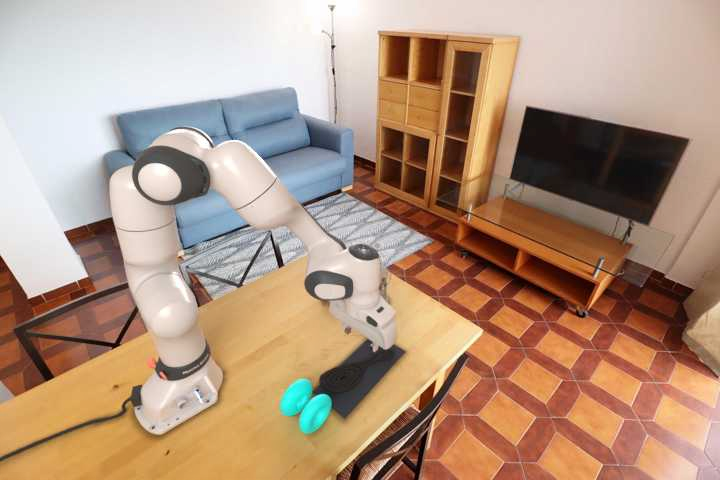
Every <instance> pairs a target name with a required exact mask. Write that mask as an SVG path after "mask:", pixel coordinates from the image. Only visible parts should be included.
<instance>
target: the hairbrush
mask: <svg viewBox="0 0 720 480" xmlns="http://www.w3.org/2000/svg"><path fill="white" fill-rule="evenodd" d="M394 355H395V352H394V350H389V349H386V350H382V351H380V352H378V353H376V354H375V355H373V356H371V357H369V358H368V359H366V360H364V361H361V362H357V363H354V362H352V364H345V365H342V366H341V364H339V365H338V366H335V367H333V368H331V369H328V370H326V371H324V372H323V373H321V374H320V376H319V380H318V383H319V385H321V387H322V388H323V389H324V390H326V391H328V392H330V393H340V394H342V393H344V392H347V391H349V390H351V389H353V388H355V387H356V385H357V384H358V383H359V382H360V381H361V379H362V377H363V375H364V373H365V371H366V369H367V368H368V366H370V365H372V364H374V363H377V362H380V361H385V360H389V359H391V358H393V357H394ZM360 369H361V374H360ZM355 374H356V376H355ZM349 376H350V377H349ZM359 376H360V377H359ZM344 377H346V378H345V379H342V378H344ZM341 379H342V380H341Z"/></svg>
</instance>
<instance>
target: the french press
mask: <svg viewBox="0 0 720 480" xmlns="http://www.w3.org/2000/svg"><path fill="white" fill-rule="evenodd" d="M373 248H374V249H379V248H381V244H380V243H379V242H375V243H374V247H373ZM388 275H389V276H390V277H389V279H388ZM387 279H388V282H387ZM391 279H392V272H391V270H389V269H388V268H387V267H386V266H385V265H384V264H381V282H380V285H379V290H380V295H381V296H382V297H383V299H384V300H385V301H386V302H387V303H388V304H389V298H388V297H387V288H388V287H387V286H388V284H389V283H390V281H391Z"/></svg>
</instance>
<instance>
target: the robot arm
mask: <svg viewBox="0 0 720 480" xmlns="http://www.w3.org/2000/svg"><path fill="white" fill-rule="evenodd" d="M211 190H212V191H214V192H216V193H218V194H219V195H220V196H221V197H222V198H223V199H224V200H225V201H226V202H227V203H228V205H230V206H231V208H232V209H233V210H234V211H235V212H236V213H237V215H239V217H240V218H241V219H242V220H243V221H244V222H245V223H247V225H249V226H250V227H252V228H253V229H256V230H260V231H270V230H275V229H277V228H279V227H281V226H283V227H286V228H287V229H288V230H289V231H290V232H291V233H292V234H293V235H294V236H295V238H297V239H298V240H299V241H300V242H301V243H302V245H304V246H305V248H306V252H307V259H308V260H307V264H306V268H305V275H304V282H303V285H304V289H305V291H306V292H307V294H309V296H310V297H312V298H314V300H315V299H316V300H317V301H322V302H324V301H330V303H329V308H328V310H329V314H330V315H331V316H333V317H334V318H335V319H336V320H338V321H339V322H340V325H341V327H342V328H343V329H342V330H343V333H345V334H346V335H349V334H350V333H352V330H354V331H355V332H357V333H358V334H360V335H362V336H363V337H365V338H366V339H369V340H371V341H372V342H373V344H371V345H370V350H372V351H373V352H376V351H377V350H378V346H380V347H381V348H383V349H385V350H386V349H389V348H390V347H391V346H392V345H393V344H394V345H395V343H396V341H397V322H396V320H395V318H396V315H397V311H396V309H395V308H394V307H393V306H392V305H391V304H389V302H388V303H387V302H386V301H385V300H384V299H383V297H382V296H381V295H380V290H379V285H380V282H381V265H382V261H381V256H380V254H379V252H378V250H377V248H375V247H373V246H372V245H370V244H368V243H363V242H354V243H351V244H349V246H348V247H347V246H346V244H345V243H344V242H343V240H341V239H340V238H338V237H337V236H335V235H333V234H331V232H329V231H327V230H326V229H325V228H324V227H323V226H322V225H321V224H320V222H319V221H317V219H316V218H315V217H314V216H313V215H312V214H311V213H310V212H309V210H308V209H307V208H306V207H305V206H304V205H303V204H302V203H301V202H300V201H299V200H298V199H297V198H296V197H295V196H294V195H293V194H292V193H291V192H290V190H288V188H287V187H286V186H285V184H284V183H283V182H282V181H281V179H280V178H279V177H278V175H277V174H276V173H275V172H274V171H273V169H272V168H271V167H270V166H269V164H267V162H265V160H264V159H263V157H261V156H260V155H259V154H258V153H257V152H256V151H255V150H254V149H252V148H251V147H250V146H249V145H248V144H246V143H245V142H243V141H241V140H238V139H237V140H236V139H233V140H227V141H224V142H221V143H220V144H218V145H217V146H215V143H214V142H213V140H212V139H211V137H210V136H209V134H207V133H205V131H203V130H201V129H199V128H197V127H194V126H185V125H183V126H177V127H175V128H174V127H173V128H172V129H170V130H168V132H165V133H163V134H161V135H160V136H158V137H157V138H155V139H154V140H153V141H152V142H151V144H149V146H148V147H147V148H145V149H144V150H142V151H141V152H140V153H139V154H138V156H137V157H136V159H135V161H134V162H133V164H131V165H127V166H124V167H121V168H119V169H118V170H116V171H115V172H114V173H112V175H111V176H110V179H109V202H110V211H111V216H112V221H113V224H114V228H115V231H116V235H117V239H118V243H119V247H120V250H121V254H122V258H123V265H124V271H125V275H126V276H125V277H126V281H127V284H128V290H129V291H130V294H131V296H132V299H133V300H134V303H135V306H136V307H137V310H138V312H139V314H140V316H141V320H142V321H143V324H144V325H145V328H146V330H147V332H148V334H149V337H150V339H151V341H152V343H153V345H154V348H155V351H156V353H157V354H158V358H157V359H158V360H156V359H155V358H154V357H150V358H149V359H148V360H146V366H148V367H149V369H151V370H152V369H154V371H153V372H152V374H151V375H150V376H149V377H148V379H147V380H146V381H145V382H144V384H138V385H134V386H132V388H131V393H130V396H129V397H128V398H126V399H125V400H124V401H123V402H122V404H121V411H120V412H119V413H117V414H114V415H111V416H107V417H102V418H95V419H92V420H88V421H86V422H85V421H84V422H83V423H80V424H77V425H74V426H71V427H69V428H67V429H65V430H62V431H59V432H56V433H54V434H52V435H49V436H47V437H44V438H42V439H39V440H37V441H34V442H32V443H30V444H27V445H25V446H22V447H21V448H18V449H16V450H14V451H11V452H9V453H7V454H5V455H2V456H0V462H2V461H4V460H7V459H9V458H11V457H13V456H15V455H18V454H20V453H23V452H24V451H27V450H29V449H31V448H33V447H36V446H38V445H41V444H43V443H46V442H49V441H50V440H54V439H56V438H58V437H61V436H63V435H66V434H68V433H71V432H73V431H77V430H78V429H81V428H83V427H86V426H90V425H92V424H98V423H102V422H107V421H110V420H113V419H116V418H119V417H122V416H123V415H124V414H125V413H126V411H127V407H126V405H127V404H128V403H129V402H130V403H131V405H132V406H133V408H134V409H133V410H134V414H135V418H136V419H137V421H138V423H139V424H140V425H141V426H142V428H143V429H144V430H145V431H147V432H148V433H150V434H152V435H156V436H161V435H164V434H165V433H167V432H169V431H170V430H173V429H174V428H177V426H179V425H180V424H182V423H184V422H185V421H187V420H189V419H191V418H193V417H194V416H196V415H197V414H199V413H201V412H203V411H204V410H206V409H208V408H209V407H211V406H213V405H214V404H216V403H217V402H218V401H219V392H220V389H221V386H222V384H223V381H224V374H223V370H222V368H221V367H220V366H219V365H218V364H217V363H216V361H215V360H214V358H213V357H212V351H211V346H210V344H209V342H208V340H207V338H206V337H205V335H204V333H203V329H202V326H201V323H200V319H199V317H200V310H199V306H198V302H197V299H196V296H195V294H194V292H193V291H192V290H191V288H190V287H189V285H188V284H187V281H186V280H185V278H184V276H183V274H182V272H181V269H180V266H179V253H180V251H181V241H180V235H179V229H178V225H177V223H178V222H177V218H176V213H175V212H176V211H175V208H174V206H176V205H179V204H182V203H185V202H188V201H190V200H193V199H197V198H201V197H204V196H206V195H207V194H208V193H209V191H211Z"/></svg>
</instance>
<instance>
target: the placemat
mask: <svg viewBox="0 0 720 480" xmlns="http://www.w3.org/2000/svg"><path fill="white" fill-rule="evenodd" d="M371 344H373V342H372V341H371V340H369V339H368V338H366V340H365V341H364V342H363V343H361V345H359V347H358V348H356V349H355V350H354V351H353V352H352V353H351V354H350V355H349V356H348V357H347V358H346V359H344V361H342V362H341V363H340V365H341V366H342V365H345V364H352V362H354V363H357V362H361V361H364V360H366V359H368V358H369V357H371V356H373V355H375V354H376V353H378V352H380V351H382V350H385V349H383V348H381V347H380V346H378V350H377V351H376V352H373V351H372V350H370V345H371ZM389 350H394V352H395V355H394V357H393V358H391V359H389V360H385V361H380V362H377V363H374V364H372V365H370V366H368V368H367V369H366V371H365V373H364V375H363V377H362V379H361V381H360V382H359V383H358V384H357V385H356V387H355V388H353V389H351V390H349V391H347V392H344V393H342V394H340V393H330V392H328V391H326V390H324V389H323V388H322V387H321V385H320V384H318V386H316V387H315V388H314V389H312V394H314V395H315V396H317V395H320V394H326V395H328V396H329V397H330V399H331V402H332V406H331V410H334V411H335V412H336V413H337V415H339V416H341V417H342V419H346V418H348V416H349V415H350V414H351V413H352V412H353V411H354V410H355V408H356V407H357V406H358V405H359V404H360V403H361V402H362V400H363V399H365V397H366V396H367V395H368V394H370V392H371V391H372V390H373V388H375V386H376V385H377V384H378V383H379V382H380V381H381V380H382V379H383V377H384V376H385V375H386V374H387V373H388V372H389V371H390V370H391V368H392V367H393V366H394V365H396V363H397V362H398V361H399V360H400V359H401V357H403V356H404V354H405V353H406V350H404V349H402V348H401V347H399V346H397V345H396V344H395V343H394V344H393V345H392V346H391V347H390V348H389ZM360 374H361V369H360ZM355 376H356V374H355ZM349 377H350V376H349ZM359 377H360V376H359ZM345 378H346V377H344V378H342V379H345ZM342 379H341V380H342Z"/></svg>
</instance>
